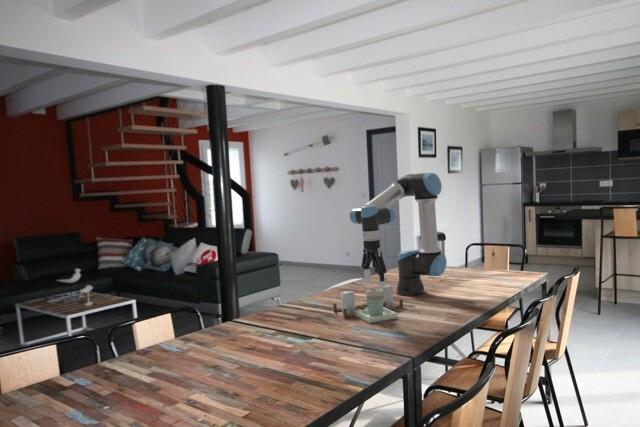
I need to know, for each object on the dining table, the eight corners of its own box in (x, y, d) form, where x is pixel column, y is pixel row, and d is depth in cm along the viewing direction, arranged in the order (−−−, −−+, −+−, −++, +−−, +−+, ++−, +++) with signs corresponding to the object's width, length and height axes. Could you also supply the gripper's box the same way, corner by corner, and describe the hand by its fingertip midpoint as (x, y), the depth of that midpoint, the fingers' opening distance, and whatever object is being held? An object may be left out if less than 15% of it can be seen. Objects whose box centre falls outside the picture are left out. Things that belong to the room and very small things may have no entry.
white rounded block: (389, 304, 242) (388, 284, 241) (396, 306, 236) (394, 286, 235) (378, 305, 239) (377, 286, 239) (384, 308, 233) (383, 288, 233)
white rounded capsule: (351, 310, 234) (350, 290, 234) (357, 313, 228) (356, 292, 228) (340, 312, 232) (338, 292, 231) (345, 315, 226) (344, 294, 225)
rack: (389, 301, 246) (389, 294, 245) (403, 307, 233) (403, 299, 233) (333, 311, 235) (332, 303, 234) (344, 318, 222) (343, 309, 222)
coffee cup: (379, 319, 214) (378, 293, 213) (363, 317, 219) (361, 291, 218) (389, 314, 220) (387, 289, 220) (373, 312, 226) (371, 287, 225)
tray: (382, 311, 229) (382, 306, 228) (397, 318, 216) (396, 312, 215) (355, 316, 224) (355, 310, 224) (369, 323, 211) (369, 317, 210)
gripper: (352, 238, 228) (355, 282, 229) (376, 243, 205) (380, 292, 206) (366, 236, 230) (369, 279, 232) (392, 241, 207) (395, 289, 209)
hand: (374, 285), depth 219 cm, fingers open, 13 cm apart
